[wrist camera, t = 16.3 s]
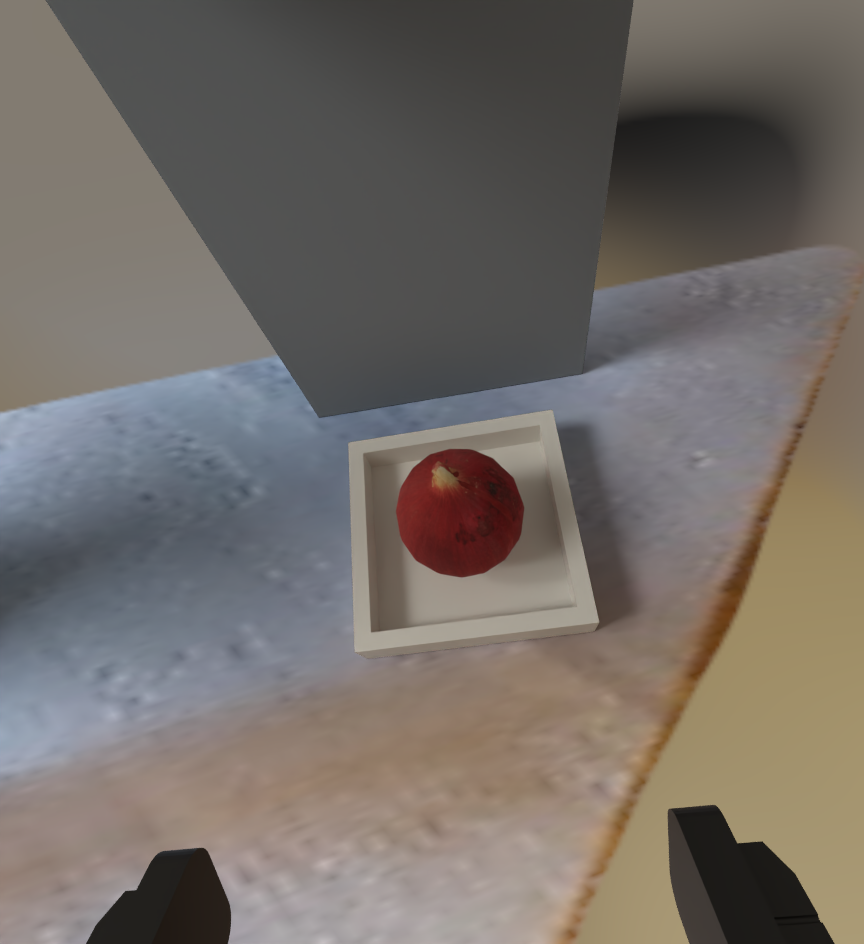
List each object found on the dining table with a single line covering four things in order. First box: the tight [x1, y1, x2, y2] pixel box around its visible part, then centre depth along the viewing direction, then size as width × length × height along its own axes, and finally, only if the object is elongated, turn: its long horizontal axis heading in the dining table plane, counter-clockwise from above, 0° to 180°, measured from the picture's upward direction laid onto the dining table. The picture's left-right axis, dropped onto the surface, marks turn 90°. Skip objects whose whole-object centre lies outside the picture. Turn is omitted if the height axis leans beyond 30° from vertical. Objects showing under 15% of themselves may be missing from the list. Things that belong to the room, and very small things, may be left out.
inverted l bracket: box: [46, 0, 633, 418], centre depth 20 cm, size 12×16×27 cm
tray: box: [348, 410, 599, 659], centre depth 29 cm, size 11×11×2 cm
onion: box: [396, 449, 524, 578], centre depth 26 cm, size 6×6×8 cm
